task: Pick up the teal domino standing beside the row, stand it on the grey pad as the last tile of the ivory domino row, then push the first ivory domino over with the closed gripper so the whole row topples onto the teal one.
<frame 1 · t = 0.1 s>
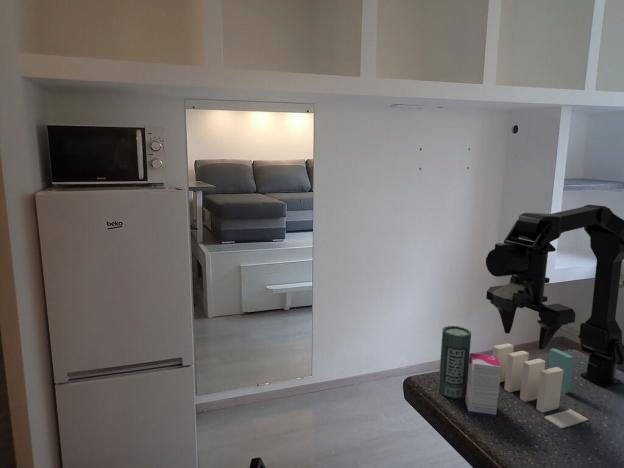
hand: (523, 340, 99), 15 cm above the countertop, tool pointing down, fingers open, 9 cm apart
end domino: (557, 388, 107), on the countertop
supplement box: (480, 409, 98), on the countertop
domino 1: (500, 380, 111), on the countertop
domino 2: (514, 388, 107), on the countertop
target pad: (566, 419, 95), on the countertop
domino 4: (547, 408, 99), on the countertop
can: (451, 392, 105), on the countertop
domino 3: (530, 398, 103), on the countertop
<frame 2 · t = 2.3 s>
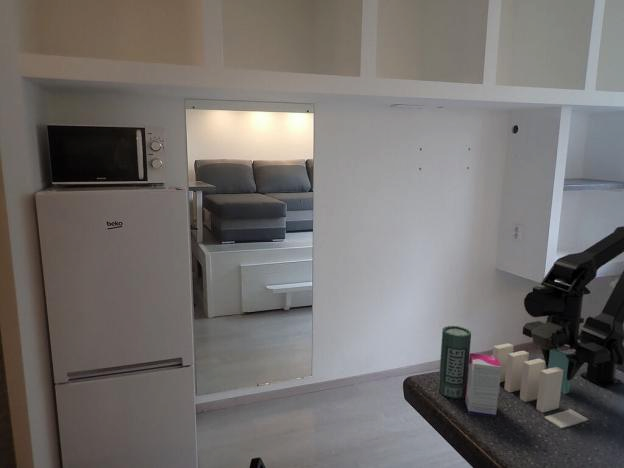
hand: (559, 374, 107), 3 cm above the countertop, tool pointing down, fingers closed on end domino, 5 cm apart
end domino: (557, 388, 107), on the countertop, touching gripper
everything else where it was.
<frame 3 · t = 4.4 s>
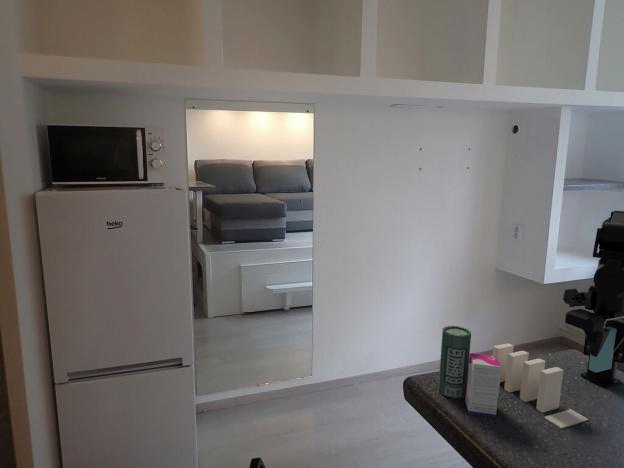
hand: (602, 354, 96), 13 cm above the countertop, tool pointing down, fingers closed on end domino, 5 cm apart
end domino: (599, 368, 96), point 10 cm above the countertop, touching gripper
everything else where it was.
when the fingers open (5 cm above the countertop, at t = 6.9 s): end domino stays where it is, resting on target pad.
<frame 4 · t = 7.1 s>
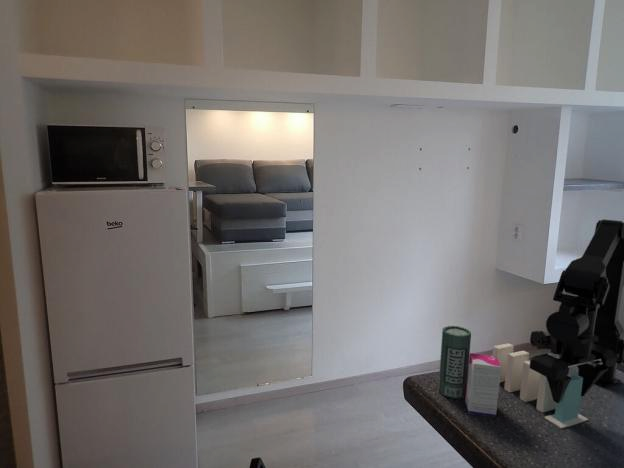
hand: (568, 398, 94), 5 cm above the countertop, tool pointing down, fingers open, 7 cm apart
end domino: (566, 417, 95), resting on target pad
everything else where it was.
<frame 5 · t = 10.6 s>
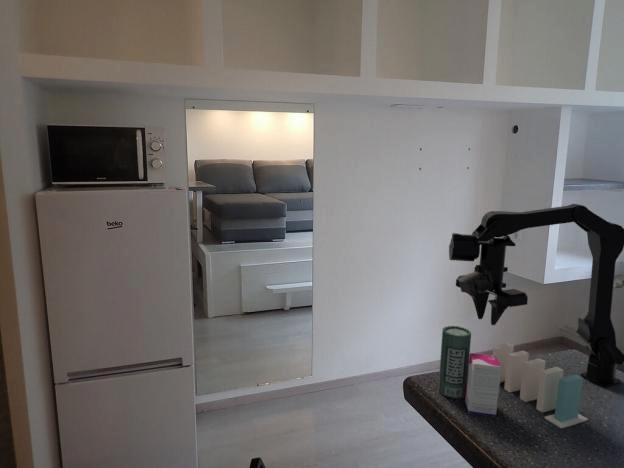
hand: (486, 321, 114), 13 cm above the countertop, tool pointing down, fingers open, 4 cm apart
nothing on the countertop moved.
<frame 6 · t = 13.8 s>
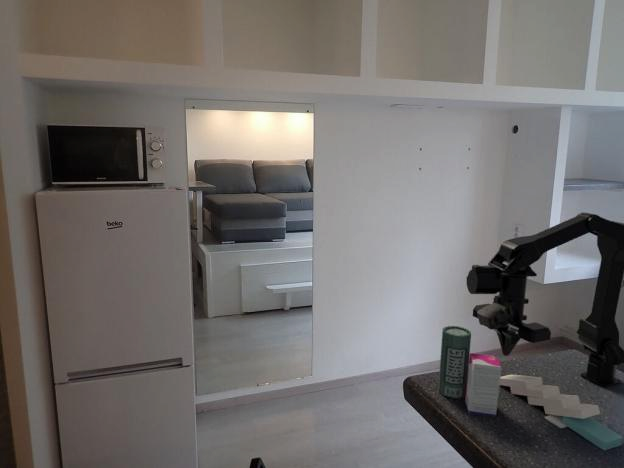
hand: (505, 355, 109), 7 cm above the countertop, tool pointing down, fingers closed
end domino: (571, 417, 93), point 1 cm above the countertop, tilted 92°, touching domino 4, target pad
domino 1: (504, 379, 110), point 1 cm above the countertop, tilted 69°, touching domino 2
domino 2: (518, 388, 106), point 1 cm above the countertop, tilted 69°, touching domino 1, domino 3
domino 4: (552, 407, 97), point 1 cm above the countertop, tilted 66°, touching domino 3, end domino
domino 3: (536, 398, 101), point 1 cm above the countertop, tilted 66°, touching domino 2, domino 4
everything else where it was.
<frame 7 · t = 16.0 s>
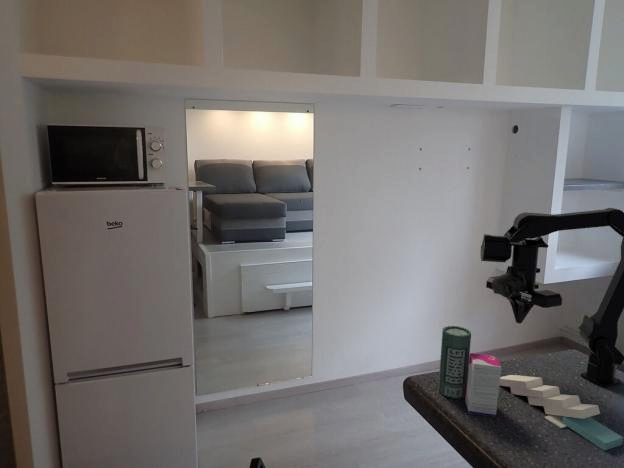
hand: (518, 323, 114), 13 cm above the countertop, tool pointing down, fingers closed
nothing on the countertop moved.
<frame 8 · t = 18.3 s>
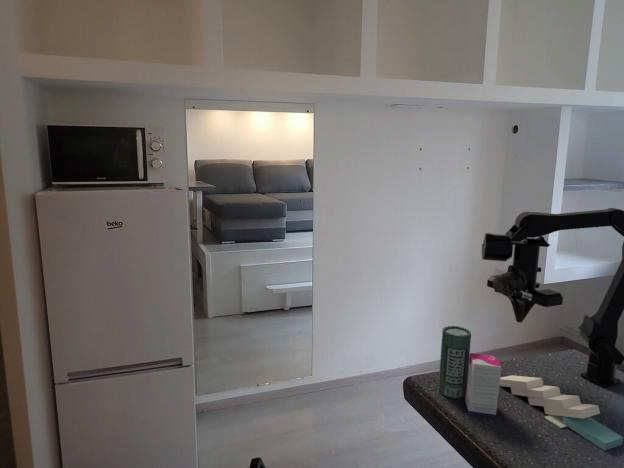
hand: (519, 321, 114), 13 cm above the countertop, tool pointing down, fingers closed
nothing on the countertop moved.
at the end: end domino tilted 92°; end domino 1.1 cm from the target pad (horizontally); domino 4 tilted 65° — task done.
